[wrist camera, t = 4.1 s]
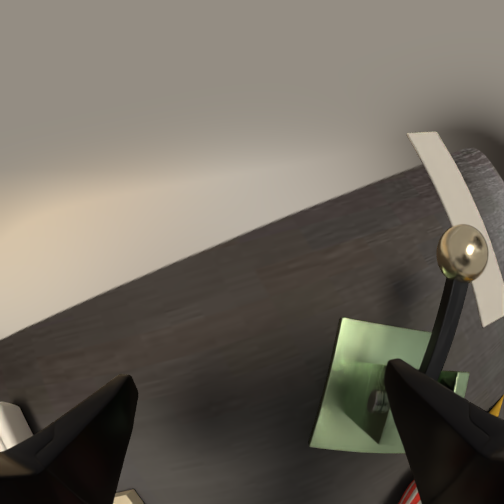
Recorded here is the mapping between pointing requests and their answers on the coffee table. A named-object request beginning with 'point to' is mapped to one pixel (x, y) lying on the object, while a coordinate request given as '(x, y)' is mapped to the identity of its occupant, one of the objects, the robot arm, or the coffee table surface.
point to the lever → (453, 289)
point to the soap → (12, 426)
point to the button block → (127, 498)
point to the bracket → (368, 387)
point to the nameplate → (461, 218)
